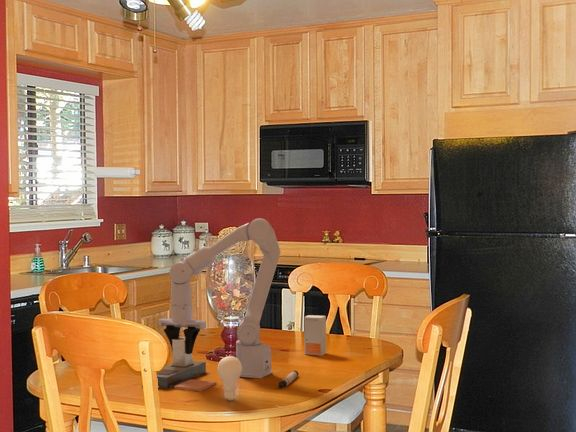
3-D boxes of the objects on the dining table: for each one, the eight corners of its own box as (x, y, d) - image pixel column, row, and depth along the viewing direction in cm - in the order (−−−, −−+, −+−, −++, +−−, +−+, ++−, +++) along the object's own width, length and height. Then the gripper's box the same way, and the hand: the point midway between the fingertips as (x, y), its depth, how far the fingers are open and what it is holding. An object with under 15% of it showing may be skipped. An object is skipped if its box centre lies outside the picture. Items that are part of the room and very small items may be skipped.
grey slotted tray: (205, 372, 225) (205, 361, 225) (167, 388, 207) (167, 377, 207) (182, 370, 229) (181, 359, 229) (142, 386, 210) (141, 374, 210)
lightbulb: (218, 397, 198) (217, 354, 197) (242, 396, 198) (241, 353, 198) (217, 404, 192) (217, 359, 191) (243, 403, 192) (242, 358, 192)
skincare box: (304, 354, 247) (303, 316, 247) (308, 352, 251) (308, 314, 251) (322, 356, 245) (321, 317, 245) (326, 353, 249) (326, 315, 249)
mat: (215, 384, 211) (215, 381, 211) (200, 391, 204) (200, 388, 204) (190, 381, 215) (190, 379, 215) (174, 388, 208) (174, 386, 207)
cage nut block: (192, 365, 222) (192, 337, 222) (185, 368, 219) (184, 339, 219) (180, 364, 224) (179, 336, 224) (172, 367, 221) (172, 339, 220)
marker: (291, 377, 219) (291, 370, 219) (298, 377, 219) (298, 370, 219) (275, 390, 205) (275, 383, 204) (282, 391, 204) (282, 383, 204)
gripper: (151, 305, 220) (152, 353, 221) (196, 307, 214) (197, 357, 215) (165, 302, 227) (166, 348, 227) (209, 304, 221) (210, 352, 221)
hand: (182, 352), depth 221 cm, fingers closed on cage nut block, 4 cm apart
